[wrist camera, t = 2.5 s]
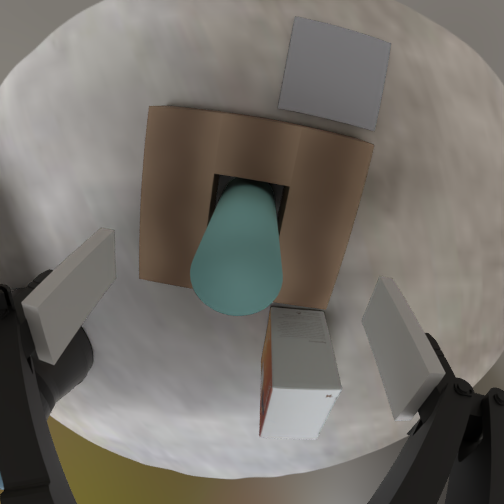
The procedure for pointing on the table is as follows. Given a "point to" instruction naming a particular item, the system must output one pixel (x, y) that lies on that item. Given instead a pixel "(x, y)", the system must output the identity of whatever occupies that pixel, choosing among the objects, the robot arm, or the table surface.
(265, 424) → the small box
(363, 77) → the mat
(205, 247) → the plug
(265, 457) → the table surface
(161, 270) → the wooden block with hole
